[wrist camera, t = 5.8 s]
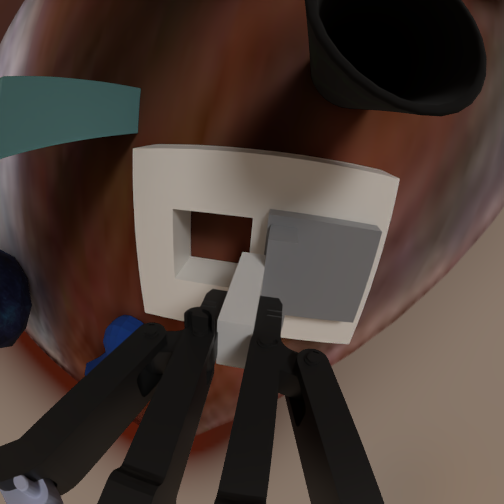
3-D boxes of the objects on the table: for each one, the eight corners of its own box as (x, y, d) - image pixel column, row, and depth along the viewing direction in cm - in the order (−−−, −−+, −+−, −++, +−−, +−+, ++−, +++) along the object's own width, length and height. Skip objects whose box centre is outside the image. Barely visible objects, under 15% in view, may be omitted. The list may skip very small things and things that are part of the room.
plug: (104, 93, 19) (-28, 97, 6) (140, 88, 18) (2, 76, 6) (102, 135, 20) (-29, 165, 8) (137, 132, 20) (-2, 159, 7)
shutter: (270, 208, 17) (265, 227, 14) (376, 225, 17) (394, 247, 14) (258, 301, 20) (252, 333, 17) (350, 312, 20) (358, 344, 17)
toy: (131, 378, 36) (167, 336, 29) (114, 408, 30) (146, 376, 24) (95, 353, 35) (120, 301, 28) (76, 381, 29) (91, 336, 23)
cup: (369, 140, 18) (455, 157, 7) (279, 92, 18) (268, 43, 7) (406, 65, 15) (498, 28, 4) (320, 17, 14) (345, -73, 3)
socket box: (157, 144, 20) (132, 148, 17) (380, 169, 19) (399, 178, 15) (161, 289, 26) (145, 312, 23) (342, 315, 25) (349, 344, 21)
